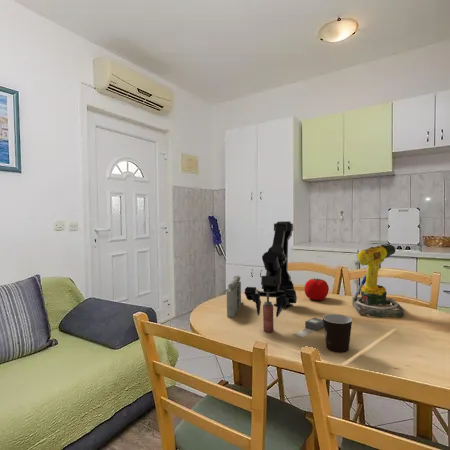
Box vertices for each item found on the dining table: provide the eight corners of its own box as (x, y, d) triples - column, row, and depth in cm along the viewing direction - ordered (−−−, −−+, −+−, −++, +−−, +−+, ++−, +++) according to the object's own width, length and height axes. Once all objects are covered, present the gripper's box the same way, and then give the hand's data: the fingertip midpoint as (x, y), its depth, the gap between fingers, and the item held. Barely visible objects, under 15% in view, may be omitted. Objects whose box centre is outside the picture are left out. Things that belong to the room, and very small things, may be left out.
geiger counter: (235, 284, 130) (244, 272, 154) (220, 284, 131) (231, 272, 156) (236, 317, 130) (244, 300, 155) (221, 316, 132) (232, 300, 156)
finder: (314, 323, 119) (314, 317, 119) (324, 326, 116) (324, 319, 116) (305, 327, 115) (305, 321, 115) (316, 331, 112) (315, 324, 112)
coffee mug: (349, 359, 92) (349, 325, 91) (319, 352, 96) (319, 320, 96) (356, 344, 102) (356, 313, 101) (329, 339, 106) (328, 309, 106)
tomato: (314, 303, 147) (313, 281, 146) (299, 297, 158) (299, 277, 157) (334, 300, 151) (334, 279, 151) (319, 294, 162) (319, 275, 161)
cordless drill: (409, 318, 124) (409, 248, 123) (358, 316, 128) (357, 249, 127) (394, 304, 142) (394, 243, 141) (350, 303, 146) (349, 244, 145)
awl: (268, 330, 116) (267, 291, 115) (275, 332, 113) (274, 292, 112) (261, 332, 113) (260, 293, 113) (269, 335, 111) (268, 294, 110)
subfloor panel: (291, 318, 127) (291, 316, 127) (327, 328, 116) (327, 326, 116) (267, 328, 117) (267, 326, 117) (304, 340, 106) (304, 338, 106)
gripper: (245, 265, 119) (237, 302, 109) (295, 267, 113) (291, 306, 103) (251, 281, 127) (244, 317, 117) (298, 284, 121) (294, 322, 111)
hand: (267, 315), depth 112 cm, fingers open, 6 cm apart
